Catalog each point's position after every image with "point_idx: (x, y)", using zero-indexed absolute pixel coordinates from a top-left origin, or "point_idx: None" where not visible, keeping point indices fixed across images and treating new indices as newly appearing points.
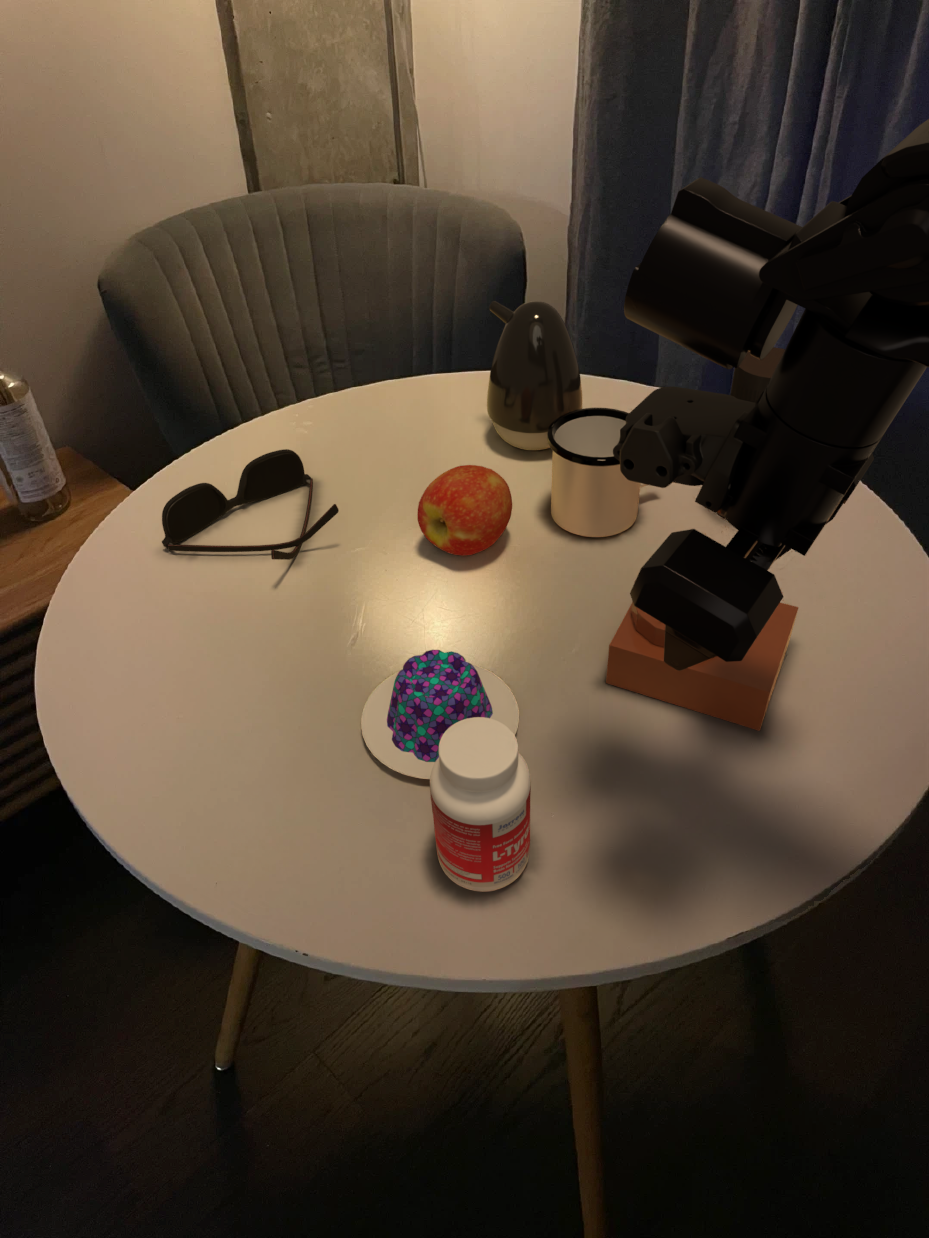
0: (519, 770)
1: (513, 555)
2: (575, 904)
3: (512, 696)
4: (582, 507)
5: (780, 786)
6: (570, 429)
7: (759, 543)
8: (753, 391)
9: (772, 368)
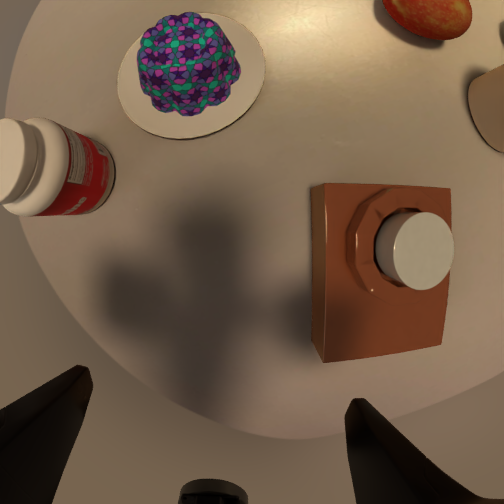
0: (29, 199)
1: (420, 56)
2: (79, 260)
3: (241, 112)
4: (489, 99)
5: (257, 370)
6: None
7: (373, 485)
8: None
9: None
